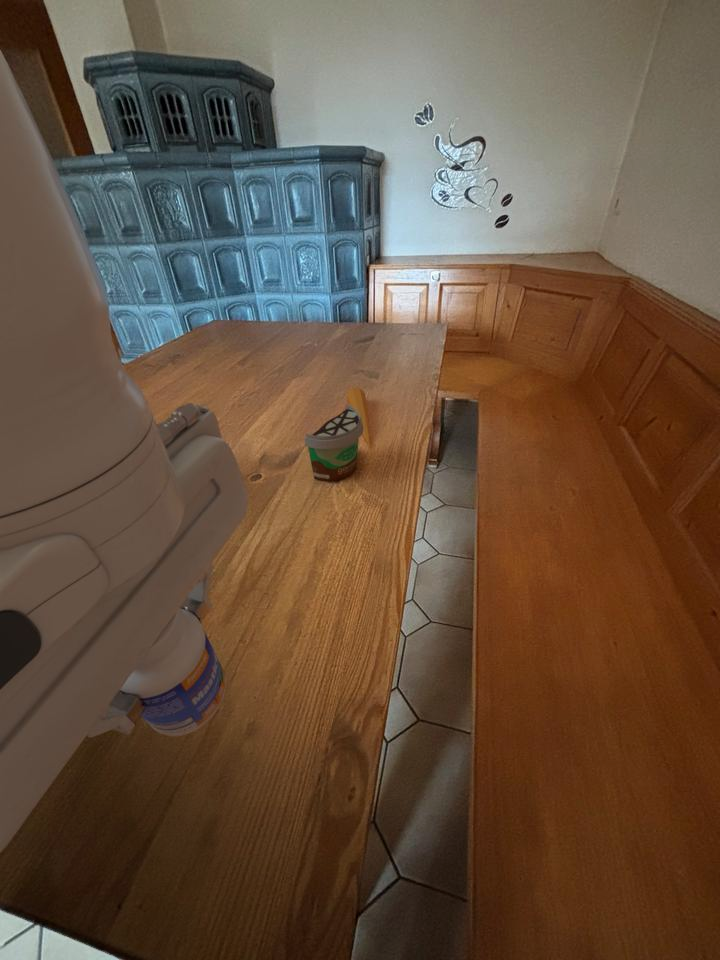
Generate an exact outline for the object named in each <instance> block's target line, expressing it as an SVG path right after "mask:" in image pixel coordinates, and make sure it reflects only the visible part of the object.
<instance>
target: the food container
mask: <svg viewBox="0 0 720 960" xmlns="http://www.w3.org/2000/svg"><path fill="white" fill-rule="evenodd" d="M362 433H363V424H362V419H361V417H360V415H359V413H358V411H357V410H356V409H354V408H353V407H351V406H349V405H348V403H346V404H345V409H344V410H342V412H340V413H339V414H338V415H336V416H334V417H332V418H330V419H328V420H327V421H326V422H325V423H324V424H322V426H320V427H319V429H318V430H316V431H315V432H313V433H312V434H310V433H305V437H304V446H305V447H307V449H308V454H309V459H310V463H311V469H312V473H313V479H315V480H317V481H321V482H326V483H327V482H328V483H333V482H339V481H342V480H346V479H347V478H349V477H351V476H353V474H354V473H355V472H356V470H357V466H358V465H357V464H358V453H359V441H360V437H361V436H363V435H362Z"/></svg>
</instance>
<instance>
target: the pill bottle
mask: <svg viewBox="0 0 720 960" xmlns="http://www.w3.org/2000/svg"><path fill="white" fill-rule="evenodd" d="M226 686H227V679H226V675H225V671H224V669H223V666H222V664H221V662H220V660H219V657H218V656H217V654H216V652H215V650H214V647H213V645H212V644H211V641H210V640H209V637H208V635H207V633H206V630H205V629H204V627H203V625H202V623H200V621H199V620H198V618H197V617H196V616H195V615H194V614H192V613H191V612H189V611H187V610H184V609H181V608H179V609H178V610H177V612H176V613H175V614H174V616H173V617H172V619H171V620H170V621H169V623H168V624H167V625H166V627H165V628H164V630H163V631H162V632H161V634H160V635H159V636H158V638H157V639H156V641H155V642H154V643H153V645H152V646H151V647H150V649H149V650H148V652H147V653H146V654H145V656H144V657H143V659H142V660H141V661H140V663H139V664H138V665H137V667H136V668H135V670H134V671H133V672H132V674H131V675H130V676H129V678H128V679H127V681H126V682H125V683H124V685H123V686H122V687H121V689H120V690H121V691H122V692H123V693H124V694H127V693H129V694H132V695H135V696H137V697H139V698H140V699H141V700H142V704H145V705H146V706H147V707H146V709H145V711H144V712H143V714H142V715H141V717H142V719H143V720H144V721H145V722H146V723H147V724H148V725H149V726H150V727H151V728H152V729H153V730H155V731H156V732H157V733H160V734H161V735H164V736H167V737H168V736H169V737H181V736H185V735H188V734H191V733H193V732H195V731H198V730H199V729H200V728H201V727H203V726H204V725H206V724H207V723H208V722H209V721H210V720H211V719H212V717H214V715H215V714H216V713H217V711H218V710H219V708H220V706H221V705H222V702H223V700H224V697H225V693H226V688H227V687H226Z"/></svg>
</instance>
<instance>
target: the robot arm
mask: <svg viewBox="0 0 720 960" xmlns="http://www.w3.org/2000/svg"><path fill="white" fill-rule="evenodd" d="M53 159H54V158H53V157H52V155H51V153H50V150H49V148H48V146H47V143H46V141H45V140H44V137H43V135H42V133H41V131H40V128H39V126H38V124H37V121H36V120H35V118H34V116H33V113H32V111H31V109H30V107H29V104H28V103H27V100H26V99H25V97H24V94H23V93H22V90H21V88H20V86H19V85H18V82H17V80H16V78H15V76H14V74H13V71H12V69H11V68H10V66H9V64H8V62H7V60H6V58H5V56H4V54H3V52H2V50H1V49H0V854H1V853H2V852H3V851H4V850H5V849H6V847H8V845H9V844H10V842H11V841H12V839H14V837H15V835H16V834H17V833H18V831H19V830H20V829H21V827H22V826H23V825H24V823H25V821H26V820H27V818H29V816H30V815H31V813H32V811H33V810H34V809H35V807H36V806H37V805H38V803H39V802H40V801H41V799H42V798H43V797H44V795H45V794H46V792H47V791H48V789H50V786H51V785H52V784H53V783H54V782H55V780H56V778H57V777H58V776H59V774H60V773H61V771H62V770H63V769H64V768H65V766H66V765H67V763H68V762H69V761H70V759H71V758H72V756H73V755H74V754H75V752H76V751H77V750H78V748H79V747H80V745H81V744H82V743H83V741H84V740H85V738H89V739H92V738H95V737H97V736H99V735H102V734H105V733H107V732H110V731H116V732H118V733H120V734H123V735H126V736H130V735H131V733H132V731H133V729H134V728H135V726H136V725H137V724H138V722H139V720H140V719H141V717H142V716H141V715H142V714H143V712H144V711H145V709H146V707H147V706H146V705H145V704H142V700H141V699H140V698H139V697H137V696H135V695H132V694H129V693H127V694H124V693H123V692H122V691H121V690H120V689H121V687H122V686H123V685H124V683H125V682H126V681H127V679H128V678H129V676H130V675H131V674H132V672H133V671H134V670H135V668H136V667H137V665H138V664H139V663H140V661H141V660H142V659H143V657H144V656H145V654H146V653H147V652H148V650H149V649H150V647H151V646H152V645H153V643H154V642H155V641H156V639H157V638H158V636H159V635H160V634H161V632H162V631H163V630H164V628H165V627H166V625H167V624H168V623H169V621H170V620H171V619H172V617H173V616H174V614H175V613H176V612H177V610H178V609H179V608H181V609H184V610H187V611H189V612H191V613H192V614H194V615H195V616H196V617H197V618H198V620H199V621H200V623H201V624H203V622H204V620H205V619H206V617H207V616H208V615H209V613H210V612H211V610H212V609H213V606H214V605H213V603H212V601H211V598H210V596H209V594H210V590H211V583H212V576H213V570H214V565H213V562H214V561H215V560H216V558H218V557H217V556H218V555H219V554H220V552H221V551H222V550H223V548H224V547H225V546H226V544H227V543H228V541H229V540H230V539H231V537H232V536H233V535H234V534H235V532H236V531H237V529H238V528H239V526H241V524H242V523H243V521H244V520H245V518H246V516H247V515H248V509H249V501H250V496H249V492H248V488H247V485H246V482H245V479H244V476H243V474H242V471H241V468H240V466H239V463H238V461H237V458H236V456H235V453H234V452H233V450H232V448H231V446H230V445H229V443H227V441H226V440H225V439H223V437H222V433H221V429H220V425H219V421H218V418H217V416H216V414H215V413H214V411H212V410H211V409H210V408H208V407H207V406H205V405H201V404H193V403H189V402H188V403H186V404H183V405H181V406H178V408H176V409H175V410H173V412H172V413H171V414H170V416H169V417H168V418H166V419H164V420H163V421H161V422H159V423H157V422H156V419H155V417H154V413H153V412H152V409H151V405H150V404H149V400H148V399H147V398H146V395H145V394H144V393H143V391H142V390H141V388H140V387H139V386H138V384H137V383H136V382H135V381H134V380H133V378H132V377H131V376H130V374H129V373H128V372H127V370H126V368H125V367H124V364H123V362H122V361H121V359H120V358H119V355H118V352H117V350H116V347H115V344H114V339H113V336H112V329H111V320H110V318H111V317H110V304H109V299H108V295H107V294H108V293H107V290H106V287H105V285H104V282H103V279H102V276H101V274H100V271H99V269H98V265H97V262H96V261H95V257H94V255H93V253H92V251H91V247H90V246H89V243H88V240H87V238H86V236H85V232H84V231H83V228H82V226H81V223H80V220H79V218H78V216H77V213H76V211H75V208H74V206H73V204H72V201H71V199H70V197H69V194H68V192H67V189H66V187H65V185H64V183H63V180H62V178H61V175H60V173H59V171H58V169H57V166H56V164H55V162H54V160H53Z"/></svg>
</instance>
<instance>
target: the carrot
mask: <svg viewBox="0 0 720 960" xmlns="http://www.w3.org/2000/svg"><path fill="white" fill-rule="evenodd" d="M346 404H347V405H349V406H351V407H353V408H354V409H356V410H357V411H358V413H359V415H360V417H361V419H362V424H363V433H362V435H361V436H363V438H364V440H365V442H366V443H367V445H368V447H369V448H370V450H371V449H372V444H371V443H372V442H371V428H370V421H369V420H370V419H369V413H368V412H369V411H368V405H367V397H366V393H365V392H364V390H363V389H361V388H360V387H359V386H356V387H355V386H354V387H353V386H352V387H350V388H349V390H347V392H346Z"/></svg>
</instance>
